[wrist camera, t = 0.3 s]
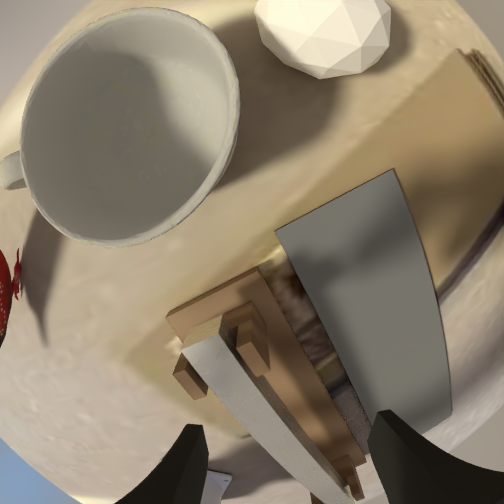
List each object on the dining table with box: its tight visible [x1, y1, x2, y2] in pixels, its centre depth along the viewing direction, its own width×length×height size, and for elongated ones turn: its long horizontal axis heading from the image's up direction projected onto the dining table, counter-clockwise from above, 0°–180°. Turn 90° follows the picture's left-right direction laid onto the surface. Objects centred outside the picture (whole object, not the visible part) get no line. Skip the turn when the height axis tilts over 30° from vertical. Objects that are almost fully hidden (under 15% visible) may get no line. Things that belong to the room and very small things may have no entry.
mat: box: [274, 169, 452, 435], centre depth 20 cm, size 28×9×1 cm, turn 29°
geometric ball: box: [254, 0, 391, 79], centre depth 11 cm, size 8×8×8 cm
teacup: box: [0, 7, 241, 248], centre depth 13 cm, size 14×11×8 cm
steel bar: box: [181, 314, 355, 504], centre depth 16 cm, size 24×2×2 cm, turn 29°
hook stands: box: [165, 267, 367, 504], centre depth 18 cm, size 25×7×6 cm, turn 29°
